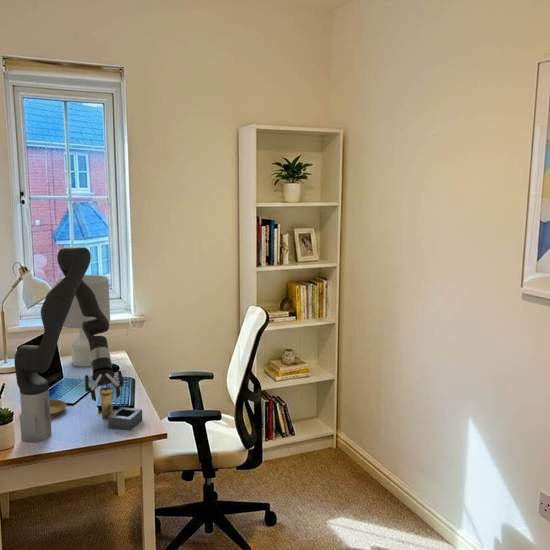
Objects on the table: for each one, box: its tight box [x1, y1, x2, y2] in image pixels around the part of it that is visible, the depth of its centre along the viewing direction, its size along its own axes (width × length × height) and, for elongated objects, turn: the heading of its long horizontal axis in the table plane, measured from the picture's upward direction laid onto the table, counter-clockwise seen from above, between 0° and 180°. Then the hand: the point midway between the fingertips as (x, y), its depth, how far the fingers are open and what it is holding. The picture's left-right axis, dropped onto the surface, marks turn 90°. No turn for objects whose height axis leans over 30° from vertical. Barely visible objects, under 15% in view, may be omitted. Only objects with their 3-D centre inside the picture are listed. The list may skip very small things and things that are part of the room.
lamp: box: [55, 274, 111, 368], centre depth 266 cm, size 24×24×42 cm
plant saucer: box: [49, 399, 67, 418], centre depth 210 cm, size 15×15×3 cm
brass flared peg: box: [99, 386, 114, 420], centre depth 206 cm, size 5×5×11 cm
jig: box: [107, 406, 143, 432], centre depth 200 cm, size 9×9×4 cm
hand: (106, 398), depth 206 cm, fingers open, 8 cm apart
